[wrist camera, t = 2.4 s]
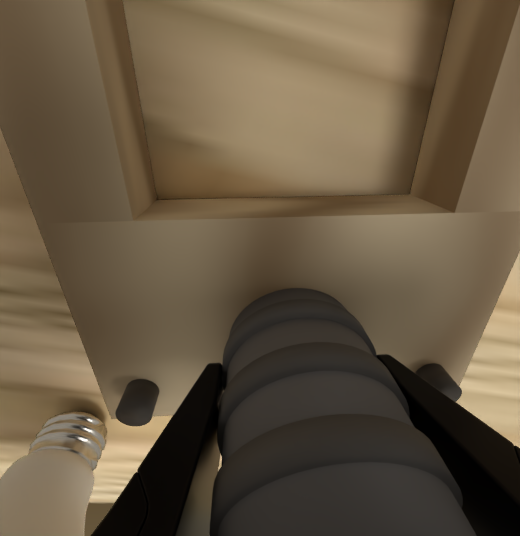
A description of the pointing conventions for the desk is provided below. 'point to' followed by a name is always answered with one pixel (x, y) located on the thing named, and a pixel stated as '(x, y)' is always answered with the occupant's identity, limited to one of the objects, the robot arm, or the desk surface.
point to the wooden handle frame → (256, 211)
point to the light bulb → (53, 478)
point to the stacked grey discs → (321, 432)
